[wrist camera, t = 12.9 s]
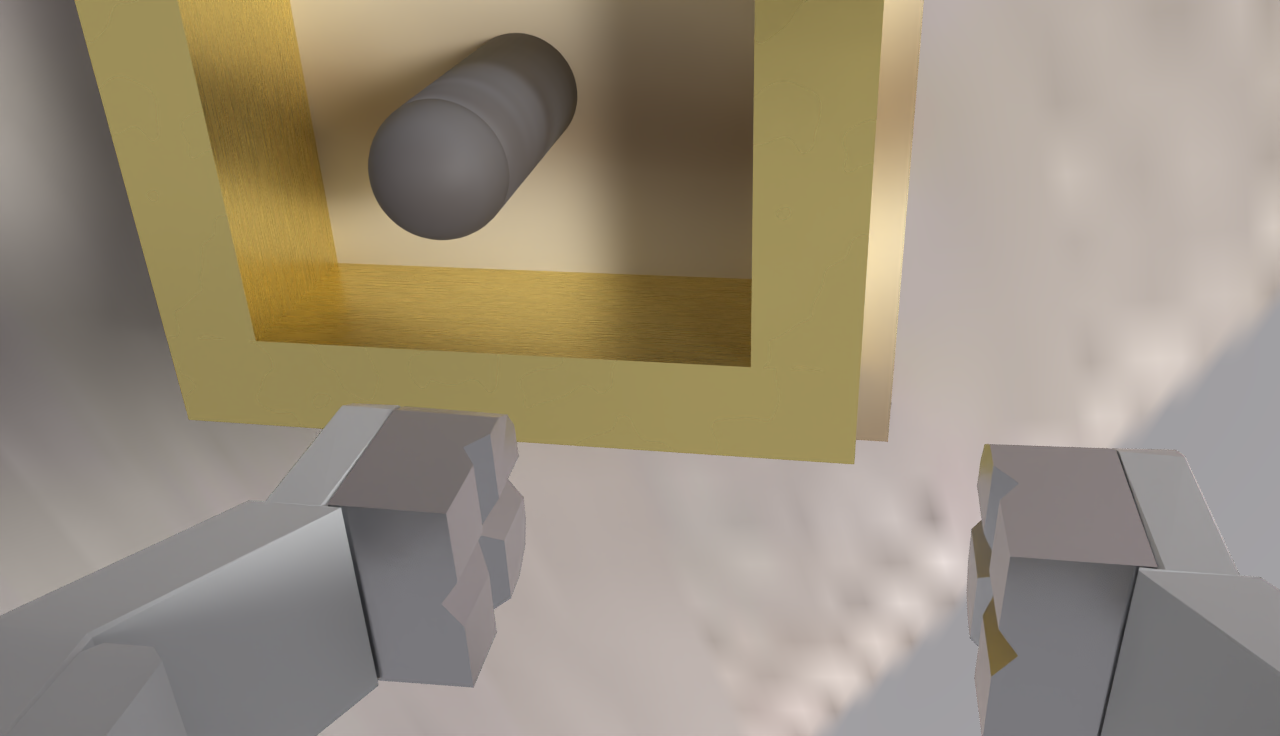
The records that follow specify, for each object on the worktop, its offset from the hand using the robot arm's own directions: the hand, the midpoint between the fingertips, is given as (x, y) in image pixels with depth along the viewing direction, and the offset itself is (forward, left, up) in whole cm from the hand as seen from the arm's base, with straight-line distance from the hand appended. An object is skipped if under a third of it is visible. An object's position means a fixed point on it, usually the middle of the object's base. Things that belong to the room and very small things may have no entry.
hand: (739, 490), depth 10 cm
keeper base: (0, -6, -16) cm, 17 cm away
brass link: (0, -6, -14) cm, 15 cm away
